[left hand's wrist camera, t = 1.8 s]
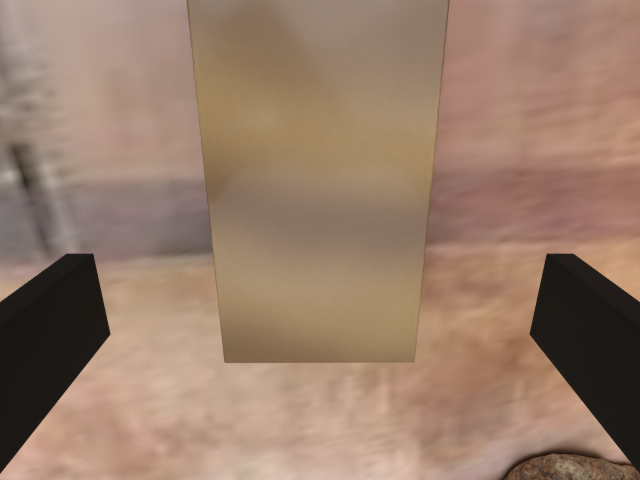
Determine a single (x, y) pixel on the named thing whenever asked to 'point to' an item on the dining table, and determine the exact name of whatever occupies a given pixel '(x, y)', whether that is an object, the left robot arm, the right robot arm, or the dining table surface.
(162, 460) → the dining table surface
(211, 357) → the dining table surface
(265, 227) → the wide beam
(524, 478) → the rock
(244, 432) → the dining table surface
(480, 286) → the dining table surface
